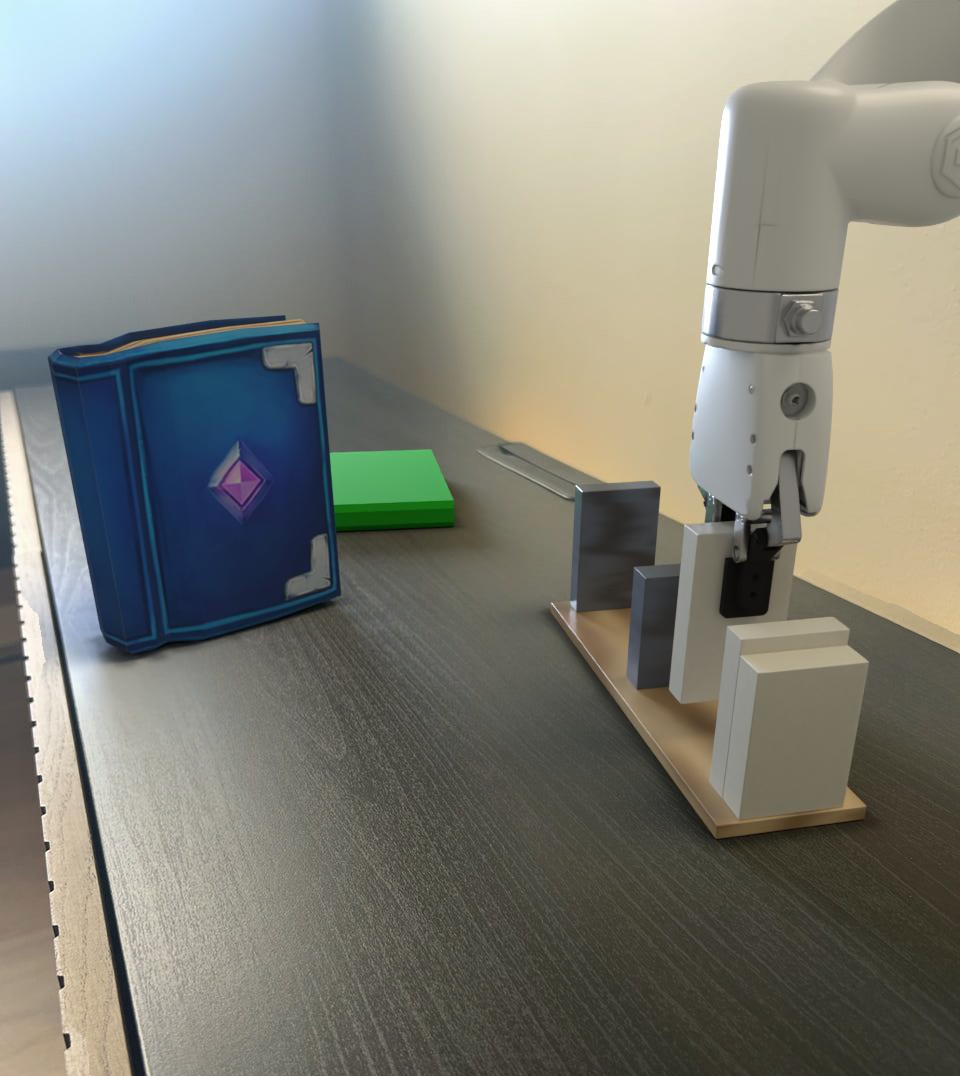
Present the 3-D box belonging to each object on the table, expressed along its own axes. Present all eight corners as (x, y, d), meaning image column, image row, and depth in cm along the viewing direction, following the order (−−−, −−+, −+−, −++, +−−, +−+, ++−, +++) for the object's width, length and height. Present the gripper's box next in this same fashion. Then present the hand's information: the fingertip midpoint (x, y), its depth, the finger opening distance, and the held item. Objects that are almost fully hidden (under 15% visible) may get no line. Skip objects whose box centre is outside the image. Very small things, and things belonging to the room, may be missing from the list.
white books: (808, 770, 69) (833, 616, 65) (843, 807, 65) (872, 646, 61) (708, 782, 68) (726, 625, 63) (739, 820, 64) (760, 656, 59)
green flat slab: (208, 480, 133) (206, 456, 131) (431, 472, 137) (431, 449, 135) (192, 539, 112) (189, 512, 111) (454, 527, 116) (454, 501, 115)
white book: (761, 680, 74) (783, 517, 69) (776, 694, 72) (800, 527, 67) (668, 690, 73) (684, 523, 68) (680, 704, 71) (697, 534, 66)
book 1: (116, 669, 84) (67, 348, 74) (83, 640, 89) (32, 335, 79) (346, 603, 97) (332, 320, 86) (306, 581, 102) (287, 311, 91)
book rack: (655, 603, 97) (665, 476, 92) (864, 819, 66) (898, 645, 61) (550, 612, 95) (555, 483, 90) (715, 839, 64) (737, 661, 59)
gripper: (902, 338, 56) (848, 652, 64) (763, 300, 70) (733, 561, 78) (772, 341, 54) (733, 663, 62) (657, 302, 69) (636, 568, 76)
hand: (733, 604), depth 70 cm, fingers closed on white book, 2 cm apart
